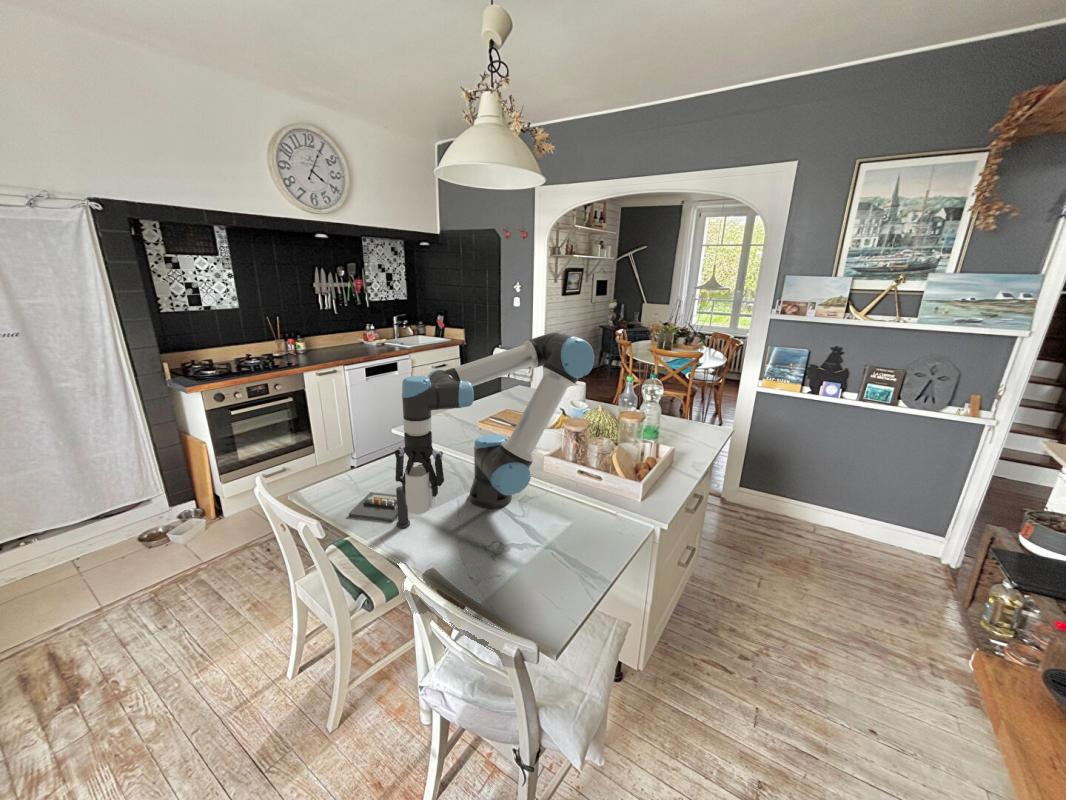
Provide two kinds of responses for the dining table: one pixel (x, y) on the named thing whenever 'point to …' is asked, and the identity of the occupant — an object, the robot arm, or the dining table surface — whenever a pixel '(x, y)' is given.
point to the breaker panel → (377, 507)
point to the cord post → (402, 509)
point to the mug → (417, 490)
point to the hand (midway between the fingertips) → (420, 503)
